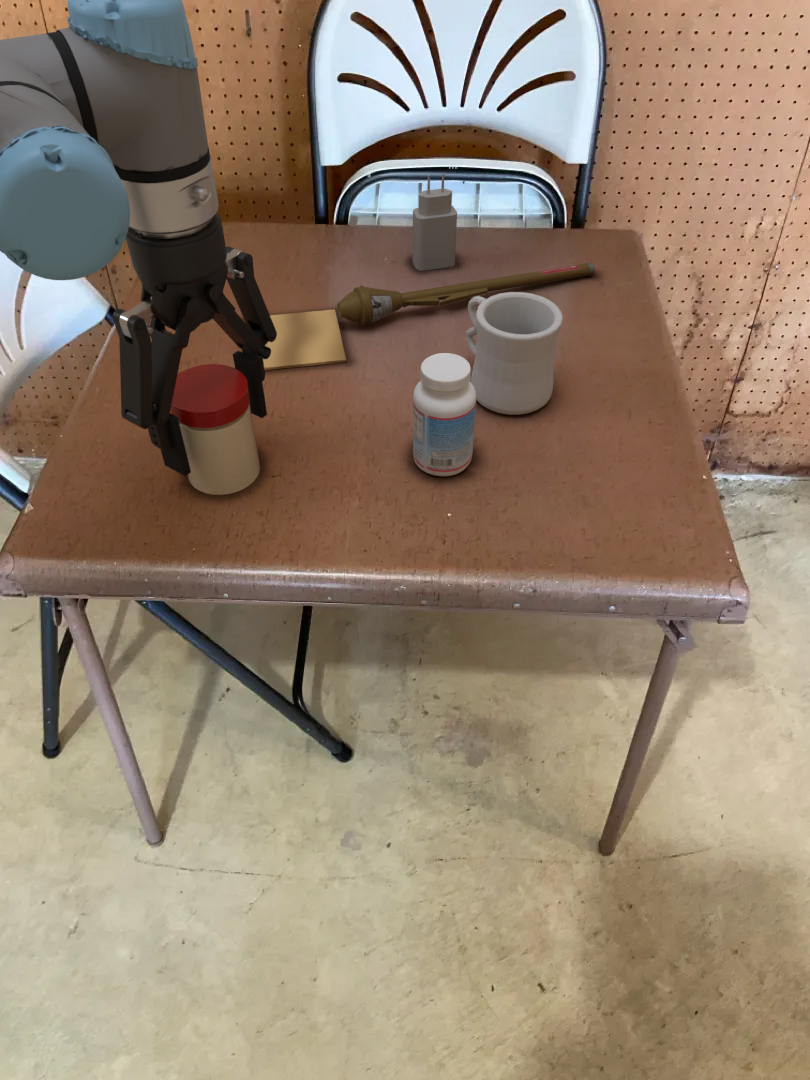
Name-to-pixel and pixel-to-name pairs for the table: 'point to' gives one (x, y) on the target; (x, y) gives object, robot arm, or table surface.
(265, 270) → the table surface
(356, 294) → the toy grenade launcher
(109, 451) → the table surface
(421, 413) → the pill bottle
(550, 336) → the mug
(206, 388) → the lid
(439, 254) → the power adapter
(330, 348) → the coaster
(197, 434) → the beige jar
